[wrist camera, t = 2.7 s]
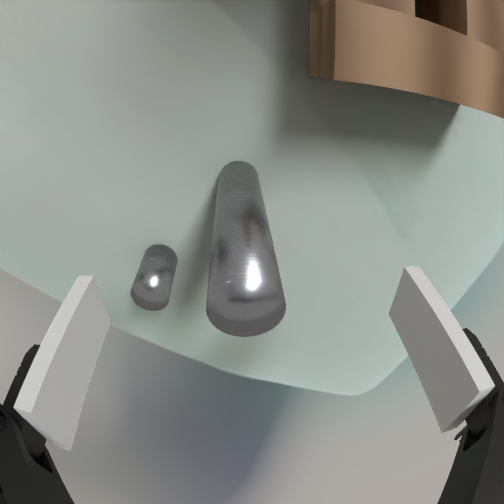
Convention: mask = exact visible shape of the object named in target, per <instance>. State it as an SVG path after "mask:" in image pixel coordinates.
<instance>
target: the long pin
mask: <svg viewBox="0 0 504 504" xmlns="http://www.w3.org/2000/svg"><path fill="white" fill-rule="evenodd" d="M285 310H286V303H285V298H284V293H283V288H282V284H281V279H280V274H279V270H278V265H277V260H276V256H275V251H274V246H273V242H272V237H271V233H270V228H269V223H268V219H267V214H266V210H265V205H264V201H263V197H262V192H261V188H260V183H259V179H258V175H257V172H256V170H255V169H254V168H253V166H251V165H250V164H248V163H246V162H243V161H234V162H231V163H229V164H227V165H226V166H224V167H223V169H222V170H221V172H220V174H219V179H218V187H217V197H216V206H215V215H214V225H213V236H212V246H211V257H210V268H209V280H208V293H207V306H206V312H207V316H208V318H209V320H210V322H211V323H212V324H213V325H214V326H215V327H216V328H217V329H219V330H220V331H222V332H224V333H227V334H230V335H234V336H241V337H248V336H256V335H260V334H263V333H265V332H267V331H269V330H271V329H273V328H274V327H275V326H277V325H278V323H279V322H280V321H281V320H282V318H283V316H284V314H285Z"/></svg>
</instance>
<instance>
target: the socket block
mask: <svg viewBox="0 0 504 504" xmlns="http://www.w3.org/2000/svg"><path fill="white" fill-rule="evenodd" d="M308 77H315V78H323V79H330V80H338V81H347V82H355V83H362V84H369V85H375V86H382V87H387V88H393V89H398V90H403V91H408V92H413V93H418V94H422V95H427V96H431V97H435V98H439V99H443V100H447V101H450V102H454V103H458V104H461V105H465V106H468V107H471V108H474V109H478V110H481V111H484V112H487V113H490V114H493V115H496V116H498V117H501V118H504V0H420V18H418V17H415V0H309V73H308Z"/></svg>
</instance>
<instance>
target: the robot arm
mask: <svg viewBox="0 0 504 504" xmlns="http://www.w3.org/2000/svg"><path fill="white" fill-rule="evenodd" d="M389 316H390V318H391V320H392V322H393V324H394V326H395V328H396V330H397V332H398V334H399V336H400V338H401V340H402V342H403V344H404V346H405V348H406V350H407V352H408V355H409V357H410V359H411V361H412V363H413V365H414V368H415V370H416V372H417V374H418V376H419V379H420V381H421V383H422V386H423V388H424V390H425V392H426V395H427V397H428V400H429V402H430V405H431V407H432V409H433V412H434V414H435V417H436V419H437V422H438V424H439V427H440V430H441V432H442V433H443V432H446V431H448V430H451V429H454V428H457V427H458V426H459V425H460V424H461V423H462V422H463V421H464V420H466V423H467V425H466V427H464V428H463V429H462V430H461V431H460V432H459V433H458V434H457V435H456V437H455V439H454V440H457V439H458V438H459V437H460V436H461V435H462V437H461V440H460V445H459V447H458V451H457V454H456V457H455V460H454V463H453V466H452V469H451V471H450V474H449V477H448V479H447V482H446V484H445V487H444V489H443V492H442V494H441V497H440V499H439V501H438V504H504V382H503V381H502V379H501V377H500V376H499V374H498V372H497V370H496V368H495V367H494V365H493V363H492V361H491V360H490V358H489V356H487V353H486V351H485V350H484V348H482V345H481V343H480V342H479V340H478V339H477V337H476V336H475V335H474V334H473V333H472V332H470V330H468V329H467V328H465V329H462V328H461V327H460V325H459V324H458V322H457V320H456V319H455V317H454V316H453V314H452V313H451V311H450V310H449V308H448V307H447V305H446V304H445V302H444V301H443V300H442V298H441V297H440V295H439V294H438V292H437V291H436V289H435V288H434V287H433V285H432V284H431V282H430V281H429V280H428V278H427V277H426V276H425V274H424V273H423V271H422V270H421V269H420V267H419V266H412V267H404V270H403V273H402V276H401V279H400V283H399V286H398V289H397V292H396V295H395V297H394V300H393V303H392V306H391V309H390V312H389ZM110 324H111V323H110V320H109V317H108V315H107V312H106V310H105V307H104V304H103V302H102V299H101V296H100V293H99V291H98V288H97V285H96V282H95V279H94V276H78V277H77V279H76V281H75V282H74V284H73V286H72V288H71V289H70V291H69V293H68V294H67V296H66V298H65V300H64V302H63V303H62V305H61V307H60V309H59V311H58V312H57V315H56V316H55V318H54V320H53V322H52V324H51V326H50V328H49V330H48V331H47V334H46V335H45V337H44V339H43V341H42V343H41V345H34V346H33V347H32V348H31V349H30V350H29V351H28V352H27V353H26V354H25V356H24V358H23V361H22V363H21V367H19V369H18V371H17V375H16V376H15V378H14V380H13V382H12V384H11V387H10V389H9V391H8V394H7V396H6V399H5V401H4V403H3V405H1V404H0V504H74V502H73V500H72V499H71V497H70V495H69V493H68V491H67V489H66V487H65V485H64V483H63V481H62V479H61V477H60V475H59V473H58V471H57V469H56V467H55V465H54V463H53V460H52V458H51V456H50V454H49V451H48V450H47V449H46V447H45V443H46V440H47V441H49V442H50V443H51V444H52V445H53V446H55V447H58V448H62V449H65V450H69V451H71V449H72V445H73V441H74V437H75V433H76V429H77V425H78V422H79V418H80V414H81V411H82V408H83V404H84V401H85V398H86V394H87V391H88V388H89V385H90V381H91V378H92V375H93V372H94V369H95V366H96V363H97V360H98V357H99V354H100V351H101V348H102V345H103V343H104V340H105V337H106V334H107V332H108V329H109V326H110Z"/></svg>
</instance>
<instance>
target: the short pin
mask: <svg viewBox="0 0 504 504" xmlns="http://www.w3.org/2000/svg"><path fill="white" fill-rule="evenodd" d="M176 265H177V256H176V254H175V252H174V251H173V250H172V249H171V248H169V247H167V246H165V245H153V246H151V247H149V248H148V249H147V250H146V252H145V254H144V257H143V260H142V262H141V265H140V267H139V270H138V273H137V275H136V278H135V281H134V284H133V286H132V289H131V297H132V299H133V301H134V302H135V303H136V304H137V305H138V306H140V307H141V308H143V309H146V310H151V311H156V310H160V309H163V308H164V307H165V306H166V305H167V304H168V301H169V297H170V292H171V287H172V283H173V278H174V274H175V269H176Z"/></svg>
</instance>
